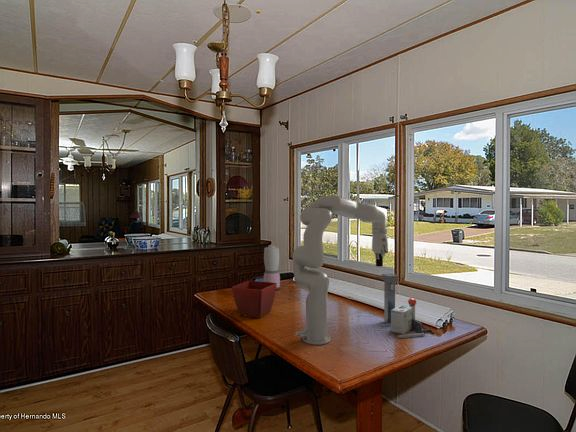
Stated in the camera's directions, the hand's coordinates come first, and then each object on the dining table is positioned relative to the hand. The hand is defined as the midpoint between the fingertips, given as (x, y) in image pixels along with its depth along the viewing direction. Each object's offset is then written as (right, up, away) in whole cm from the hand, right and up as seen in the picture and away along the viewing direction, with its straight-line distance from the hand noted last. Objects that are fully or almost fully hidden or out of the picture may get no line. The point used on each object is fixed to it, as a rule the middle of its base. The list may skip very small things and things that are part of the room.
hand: (379, 266), depth 186 cm
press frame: (+7, -29, -12) cm, 32 cm away
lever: (+15, -29, -6) cm, 34 cm away
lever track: (+16, -29, -11) cm, 35 cm away
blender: (-60, -28, +76) cm, 101 cm away
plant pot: (-67, -29, +12) cm, 74 cm away
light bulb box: (+7, -30, -14) cm, 34 cm away
